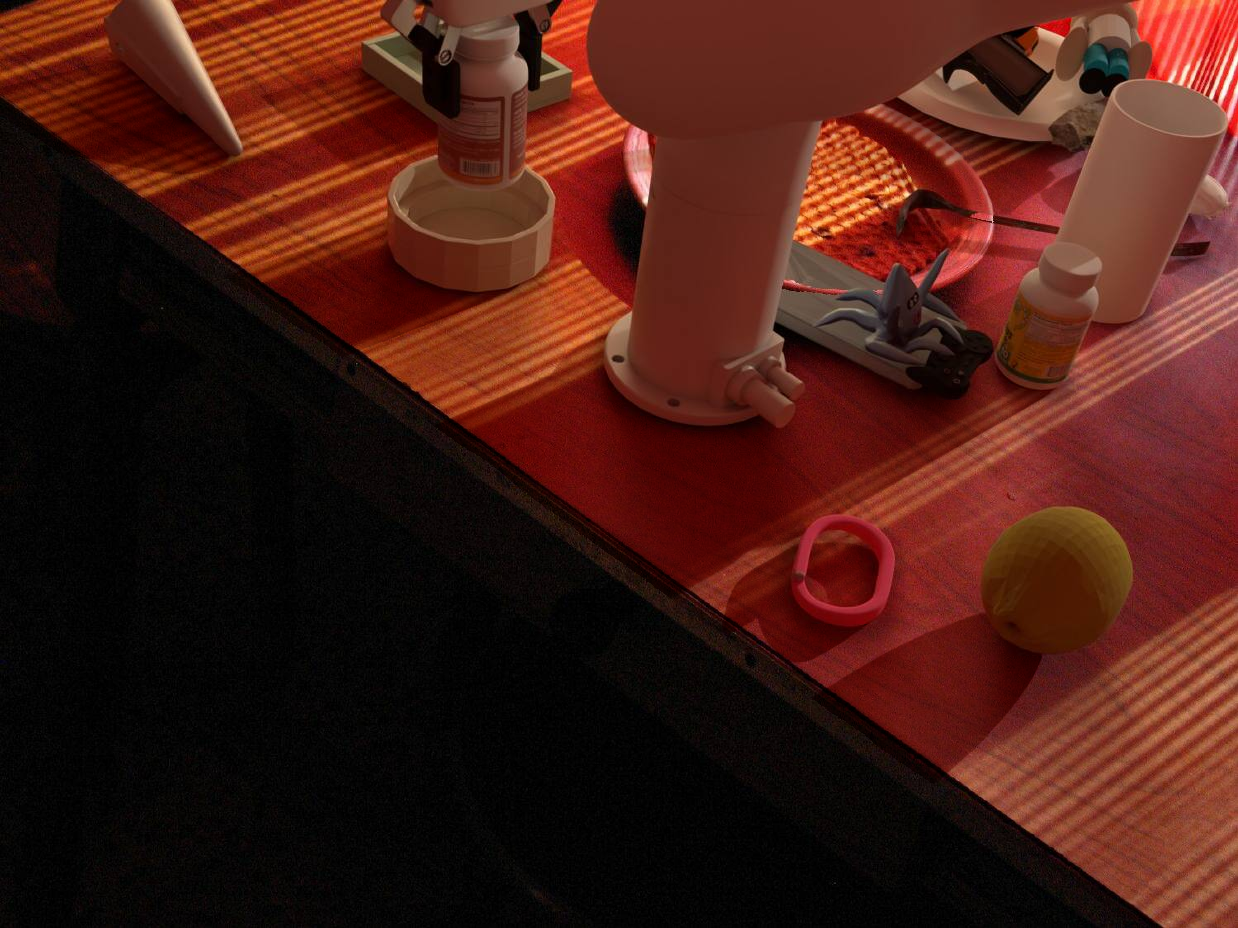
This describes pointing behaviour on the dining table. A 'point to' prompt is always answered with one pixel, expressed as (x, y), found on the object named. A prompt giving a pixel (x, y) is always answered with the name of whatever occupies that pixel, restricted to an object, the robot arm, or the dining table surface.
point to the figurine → (917, 331)
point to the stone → (1078, 126)
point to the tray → (403, 73)
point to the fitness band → (884, 578)
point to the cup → (1141, 187)
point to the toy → (1104, 50)
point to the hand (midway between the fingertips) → (482, 94)
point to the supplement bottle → (1050, 317)
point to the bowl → (469, 229)
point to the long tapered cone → (170, 64)
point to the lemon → (1056, 580)
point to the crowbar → (1009, 220)
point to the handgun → (1002, 72)
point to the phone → (842, 335)
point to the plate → (985, 114)
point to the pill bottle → (487, 110)
